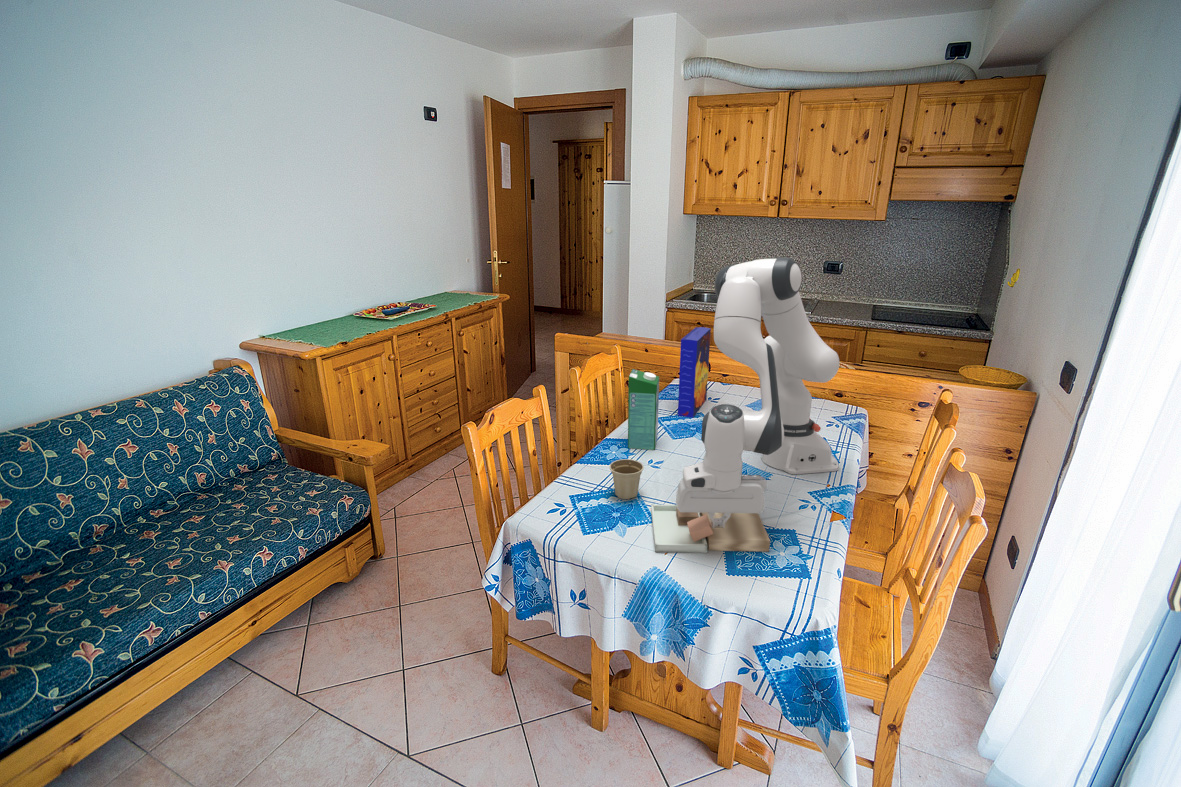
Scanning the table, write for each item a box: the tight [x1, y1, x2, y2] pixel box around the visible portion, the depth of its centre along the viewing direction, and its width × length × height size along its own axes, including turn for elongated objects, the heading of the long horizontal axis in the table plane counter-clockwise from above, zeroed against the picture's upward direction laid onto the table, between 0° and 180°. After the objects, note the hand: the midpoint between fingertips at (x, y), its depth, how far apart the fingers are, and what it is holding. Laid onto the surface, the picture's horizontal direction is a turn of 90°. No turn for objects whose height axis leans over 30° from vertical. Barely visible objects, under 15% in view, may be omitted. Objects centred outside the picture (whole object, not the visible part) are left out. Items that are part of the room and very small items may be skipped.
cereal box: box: [677, 326, 712, 419], centre depth 215 cm, size 22×6×30 cm, turn 156°
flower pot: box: [609, 458, 645, 500], centre depth 155 cm, size 9×9×9 cm
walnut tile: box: [676, 506, 699, 525], centre depth 142 cm, size 5×5×2 cm
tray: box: [650, 504, 708, 554], centre depth 138 cm, size 12×18×2 cm, turn 177°
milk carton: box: [627, 368, 660, 451], centre depth 184 cm, size 9×9×25 cm
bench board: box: [699, 513, 771, 553], centre depth 137 cm, size 14×16×3 cm
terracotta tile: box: [687, 514, 714, 542], centre depth 133 cm, size 5×5×2 cm
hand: (717, 526), depth 133 cm, fingers closed
